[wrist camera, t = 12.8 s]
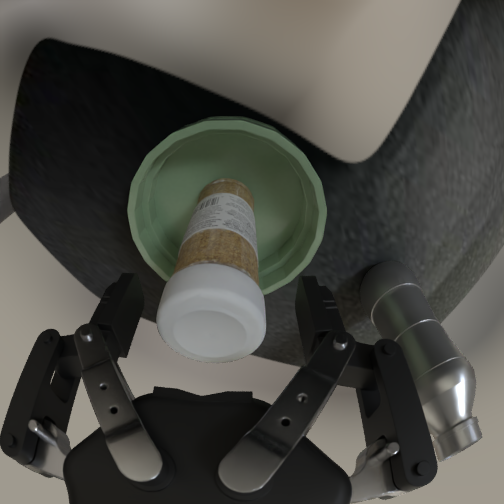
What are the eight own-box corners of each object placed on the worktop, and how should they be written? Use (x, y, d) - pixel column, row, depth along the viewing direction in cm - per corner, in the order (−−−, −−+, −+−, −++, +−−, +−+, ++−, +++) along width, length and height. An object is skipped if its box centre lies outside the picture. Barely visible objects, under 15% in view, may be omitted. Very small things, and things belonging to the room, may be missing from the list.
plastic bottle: (360, 309, 30) (417, 473, 13) (347, 267, 26) (424, 466, 10) (409, 287, 28) (485, 437, 12) (402, 242, 25) (511, 414, 8)
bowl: (157, 270, 26) (146, 298, 23) (137, 121, 19) (116, 129, 15) (303, 272, 27) (311, 300, 23) (321, 120, 19) (337, 127, 16)
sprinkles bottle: (211, 234, 24) (186, 373, 12) (189, 187, 21) (132, 308, 10) (262, 218, 23) (279, 356, 11) (244, 167, 20) (244, 279, 9)
